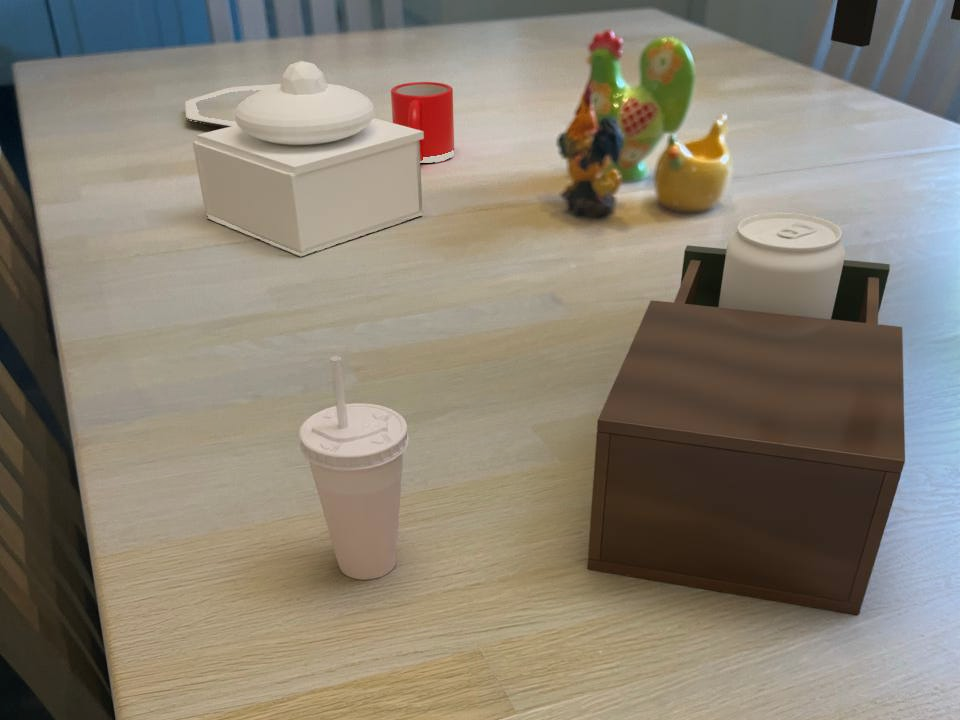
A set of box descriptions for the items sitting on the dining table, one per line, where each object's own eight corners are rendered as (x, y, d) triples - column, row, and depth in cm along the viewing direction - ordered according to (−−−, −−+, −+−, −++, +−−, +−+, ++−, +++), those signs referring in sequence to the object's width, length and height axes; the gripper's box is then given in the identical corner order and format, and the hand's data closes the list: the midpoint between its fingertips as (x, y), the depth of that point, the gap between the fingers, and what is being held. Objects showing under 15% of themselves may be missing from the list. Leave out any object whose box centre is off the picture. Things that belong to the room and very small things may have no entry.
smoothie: (320, 536, 67) (291, 335, 58) (416, 531, 68) (403, 331, 58) (314, 595, 63) (283, 387, 53) (418, 590, 63) (404, 382, 54)
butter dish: (206, 219, 115) (177, 61, 105) (330, 183, 125) (314, 35, 114) (301, 258, 106) (279, 89, 95) (427, 215, 115) (420, 57, 105)
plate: (277, 144, 138) (276, 132, 137) (152, 122, 147) (150, 111, 146) (379, 106, 153) (379, 95, 152) (260, 88, 162) (259, 77, 161)
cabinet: (637, 435, 77) (650, 299, 70) (864, 467, 73) (902, 326, 66) (586, 569, 64) (597, 419, 57) (858, 615, 60) (905, 460, 53)
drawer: (684, 322, 90) (696, 221, 84) (864, 342, 87) (890, 238, 81) (639, 443, 74) (651, 329, 68) (857, 474, 71) (889, 356, 65)
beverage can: (685, 385, 79) (706, 227, 71) (751, 355, 83) (778, 202, 75) (769, 423, 74) (801, 259, 66) (836, 389, 78) (873, 230, 70)
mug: (386, 173, 127) (381, 104, 122) (399, 146, 136) (395, 81, 131) (448, 174, 127) (446, 105, 122) (457, 147, 136) (455, 81, 131)
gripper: (1092, -430, 60) (984, 3, 75) (798, -443, 52) (741, 45, 67) (1215, -451, 55) (1074, 18, 70) (911, -469, 47) (822, 65, 62)
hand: (911, 31), depth 68 cm, fingers open, 10 cm apart
